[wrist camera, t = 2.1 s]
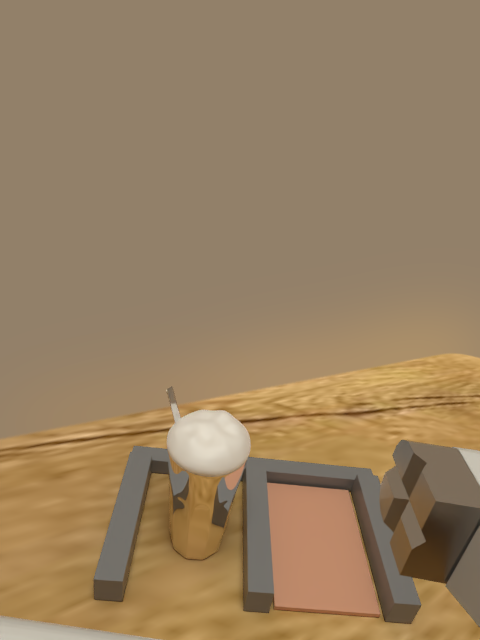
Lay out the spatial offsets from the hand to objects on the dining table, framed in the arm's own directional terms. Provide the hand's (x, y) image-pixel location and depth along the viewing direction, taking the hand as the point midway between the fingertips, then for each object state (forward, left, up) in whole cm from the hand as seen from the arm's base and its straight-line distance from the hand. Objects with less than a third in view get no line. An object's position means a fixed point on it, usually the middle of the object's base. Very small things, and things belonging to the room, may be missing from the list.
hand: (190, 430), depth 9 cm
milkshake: (0, -12, -20) cm, 23 cm away
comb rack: (-4, -12, -19) cm, 23 cm away
